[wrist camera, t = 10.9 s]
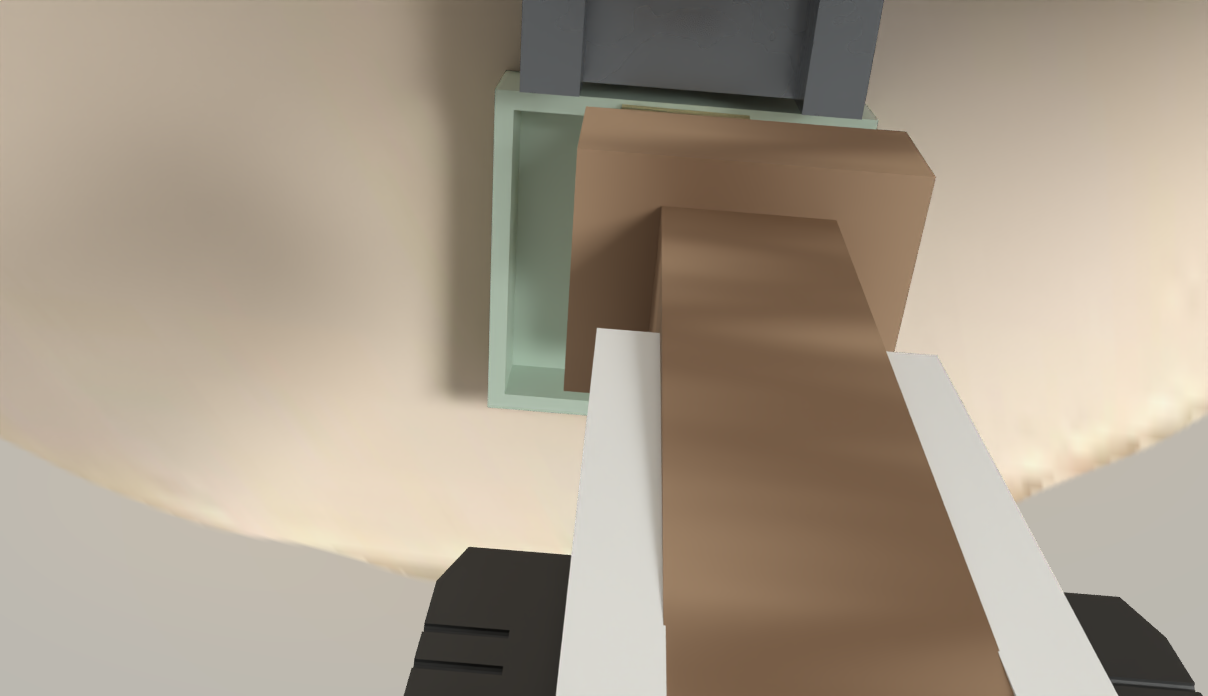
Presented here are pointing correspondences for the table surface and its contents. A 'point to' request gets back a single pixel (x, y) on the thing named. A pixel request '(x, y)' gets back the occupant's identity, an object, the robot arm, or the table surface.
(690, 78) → the graphite slot block
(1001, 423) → the table surface
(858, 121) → the sage tray
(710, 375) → the walnut t-shaped block
